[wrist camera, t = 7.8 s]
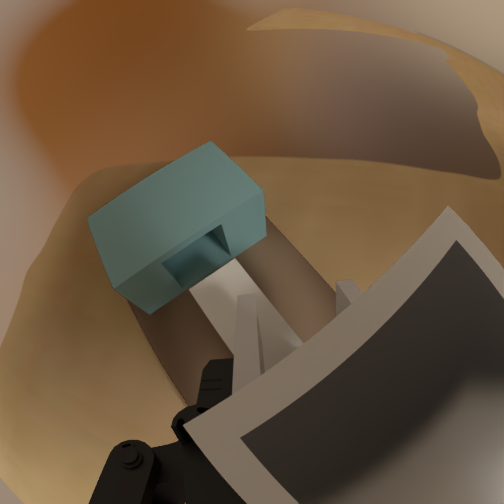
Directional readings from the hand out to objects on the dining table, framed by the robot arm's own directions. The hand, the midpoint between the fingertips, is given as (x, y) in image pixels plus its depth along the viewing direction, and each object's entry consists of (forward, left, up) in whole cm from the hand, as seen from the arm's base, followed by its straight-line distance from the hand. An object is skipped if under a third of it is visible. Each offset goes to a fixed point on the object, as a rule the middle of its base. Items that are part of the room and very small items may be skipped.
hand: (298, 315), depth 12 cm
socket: (+2, -10, -5) cm, 11 cm away
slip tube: (+2, +6, -4) cm, 8 cm away
